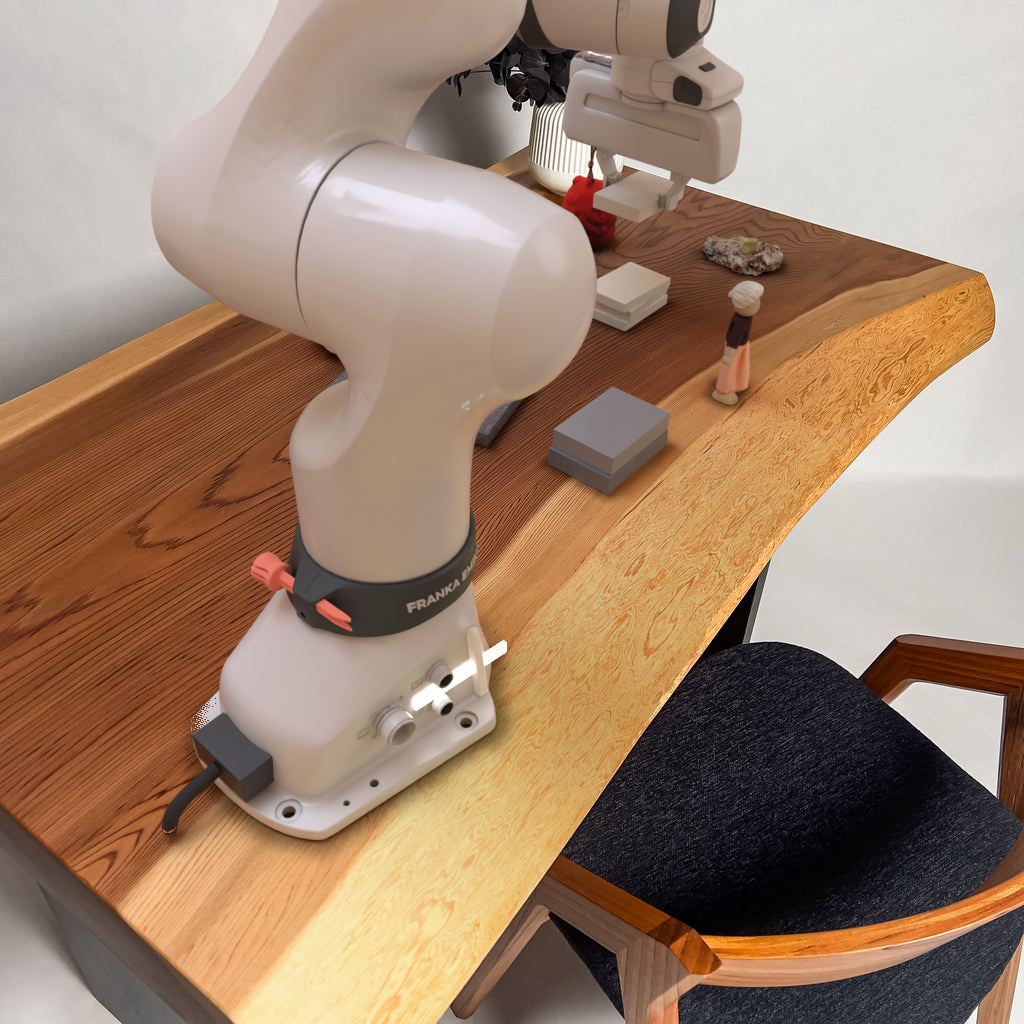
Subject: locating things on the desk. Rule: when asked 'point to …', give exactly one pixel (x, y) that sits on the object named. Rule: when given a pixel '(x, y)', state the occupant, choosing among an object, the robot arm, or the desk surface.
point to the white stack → (629, 295)
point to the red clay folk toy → (590, 208)
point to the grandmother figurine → (738, 342)
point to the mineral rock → (743, 254)
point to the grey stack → (609, 439)
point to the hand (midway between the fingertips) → (639, 199)
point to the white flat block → (633, 196)
